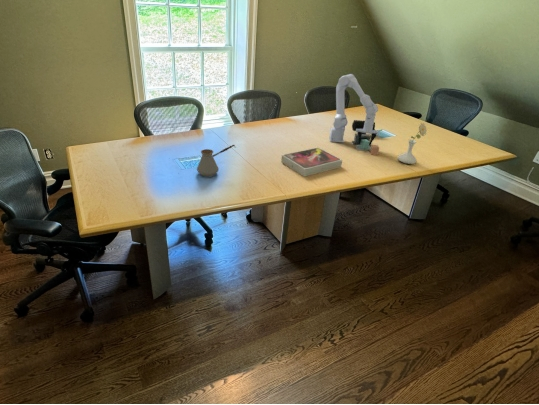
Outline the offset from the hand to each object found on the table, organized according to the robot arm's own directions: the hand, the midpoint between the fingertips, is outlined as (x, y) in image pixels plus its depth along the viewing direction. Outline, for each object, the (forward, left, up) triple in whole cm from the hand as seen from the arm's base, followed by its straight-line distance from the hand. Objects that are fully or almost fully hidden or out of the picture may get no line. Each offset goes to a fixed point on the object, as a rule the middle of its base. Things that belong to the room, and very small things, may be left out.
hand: (364, 143), depth 227 cm
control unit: (0, +8, -3) cm, 9 cm away
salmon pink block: (+5, -8, -3) cm, 10 cm away
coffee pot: (-91, -51, -4) cm, 104 cm away
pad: (0, 0, -3) cm, 3 cm away
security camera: (+6, +28, -4) cm, 29 cm away
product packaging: (-38, -32, -4) cm, 50 cm away
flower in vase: (+24, -18, -4) cm, 30 cm away
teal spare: (0, 0, -3) cm, 3 cm away
